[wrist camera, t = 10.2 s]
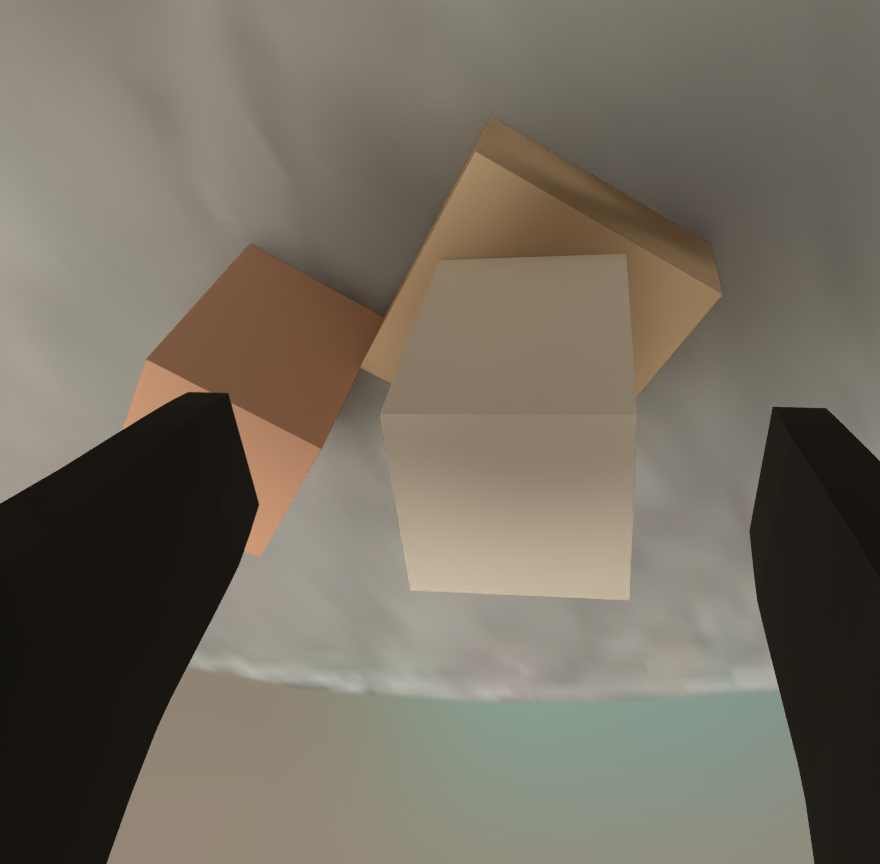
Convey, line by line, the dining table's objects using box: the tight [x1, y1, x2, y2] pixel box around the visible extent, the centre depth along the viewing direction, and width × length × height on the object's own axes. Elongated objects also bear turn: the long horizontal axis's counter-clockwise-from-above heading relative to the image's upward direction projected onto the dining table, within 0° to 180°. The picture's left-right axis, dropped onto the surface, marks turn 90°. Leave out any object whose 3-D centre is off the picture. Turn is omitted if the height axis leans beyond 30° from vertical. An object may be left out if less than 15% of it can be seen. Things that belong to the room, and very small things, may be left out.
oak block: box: [360, 116, 723, 397], centre depth 20 cm, size 6×6×3 cm
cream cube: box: [379, 254, 637, 600], centre depth 16 cm, size 4×4×6 cm
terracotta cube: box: [122, 244, 384, 558], centre depth 20 cm, size 4×4×6 cm
